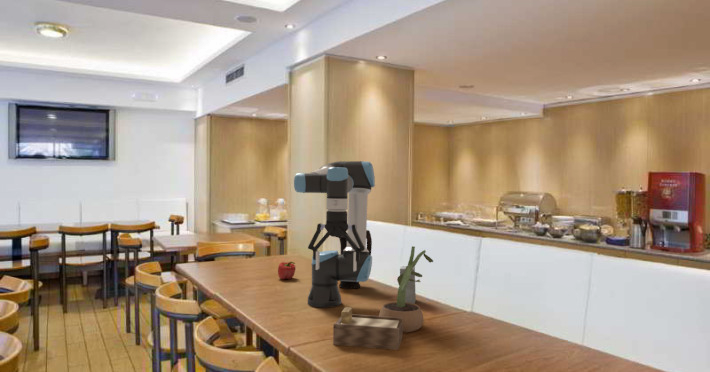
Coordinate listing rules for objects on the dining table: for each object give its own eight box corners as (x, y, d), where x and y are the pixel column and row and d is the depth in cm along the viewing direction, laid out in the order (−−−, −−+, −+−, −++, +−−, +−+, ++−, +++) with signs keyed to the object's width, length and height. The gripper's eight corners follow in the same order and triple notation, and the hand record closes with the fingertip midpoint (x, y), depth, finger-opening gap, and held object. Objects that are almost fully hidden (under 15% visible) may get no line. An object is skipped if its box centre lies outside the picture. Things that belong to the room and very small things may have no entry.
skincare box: (414, 304, 215) (415, 269, 215) (398, 303, 217) (399, 268, 217) (416, 299, 224) (416, 265, 223) (400, 298, 225) (401, 265, 225)
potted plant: (408, 337, 170) (409, 253, 169) (369, 326, 182) (370, 247, 182) (442, 324, 187) (443, 247, 186) (405, 314, 199) (406, 242, 198)
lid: (339, 327, 163) (339, 313, 163) (346, 318, 173) (346, 305, 173) (395, 331, 159) (395, 317, 159) (399, 322, 169) (399, 309, 169)
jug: (325, 289, 242) (325, 229, 242) (339, 281, 260) (340, 226, 259) (364, 293, 235) (364, 232, 234) (376, 285, 252) (377, 228, 251)
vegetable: (300, 278, 267) (300, 260, 267) (288, 281, 258) (288, 263, 258) (285, 276, 273) (285, 258, 273) (273, 279, 264) (273, 261, 264)
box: (333, 344, 162) (333, 323, 162) (342, 332, 175) (342, 313, 175) (398, 350, 157) (398, 328, 157) (402, 337, 170) (402, 317, 170)
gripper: (300, 210, 169) (299, 270, 169) (370, 211, 166) (369, 273, 166) (305, 209, 177) (304, 266, 177) (372, 210, 173) (371, 269, 173)
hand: (336, 269), depth 171 cm, fingers open, 13 cm apart
